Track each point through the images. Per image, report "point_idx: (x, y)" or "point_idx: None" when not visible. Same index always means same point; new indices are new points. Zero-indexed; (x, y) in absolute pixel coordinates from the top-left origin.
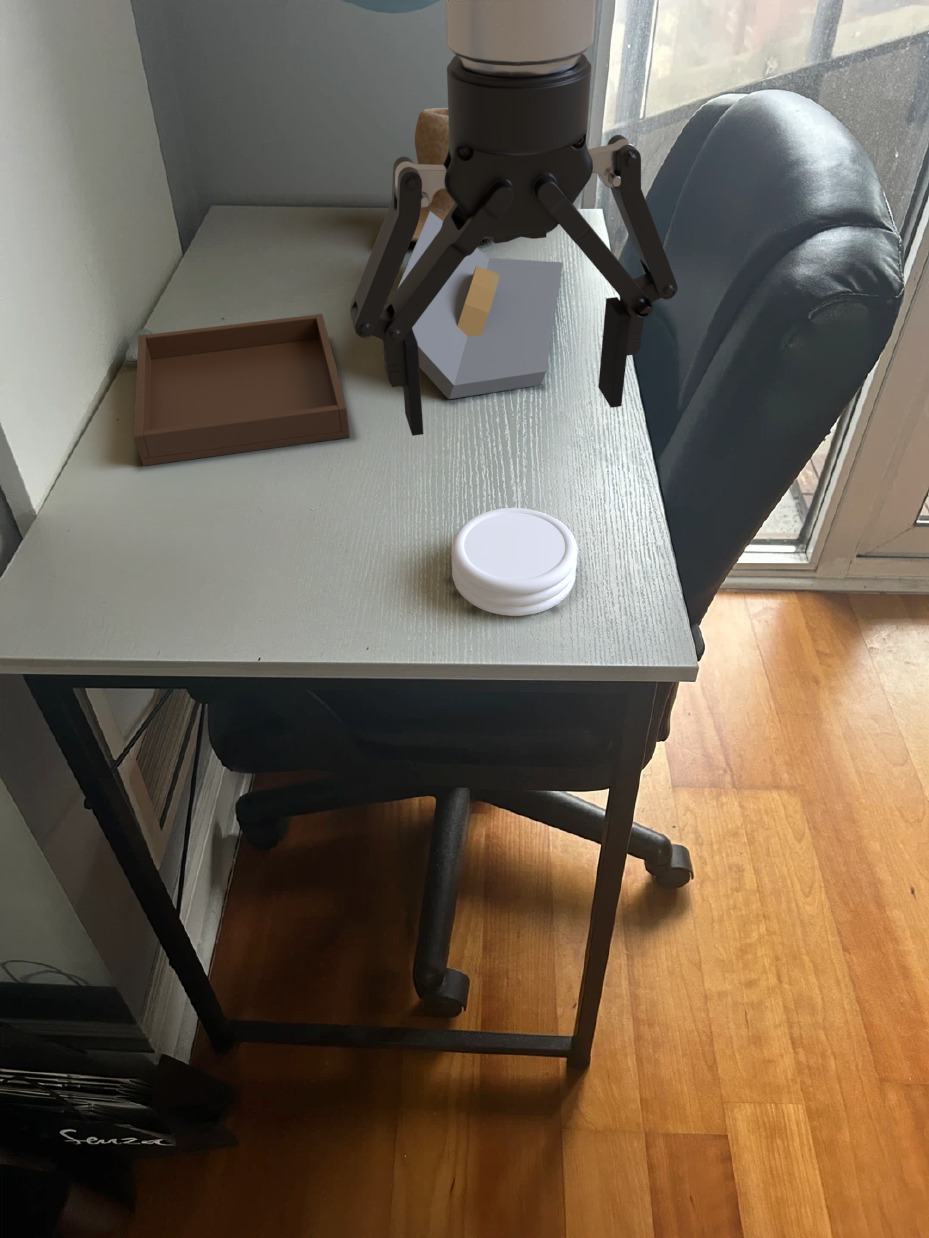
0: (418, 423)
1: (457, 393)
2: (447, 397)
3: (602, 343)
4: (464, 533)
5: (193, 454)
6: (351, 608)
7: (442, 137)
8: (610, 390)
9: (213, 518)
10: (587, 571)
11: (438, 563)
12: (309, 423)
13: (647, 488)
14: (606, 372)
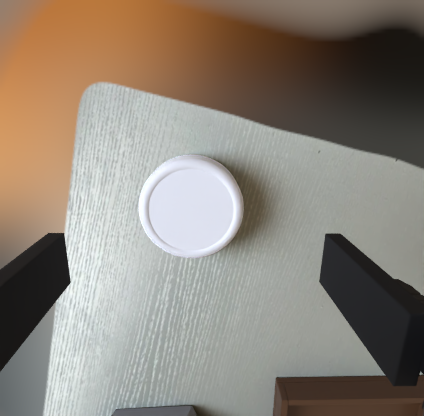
0: (338, 240)
1: (184, 409)
2: (192, 407)
3: (36, 324)
4: (228, 233)
5: None
6: (320, 196)
7: None
8: (54, 249)
9: None
10: (134, 194)
11: (245, 229)
12: (310, 391)
13: None
14: (49, 279)
